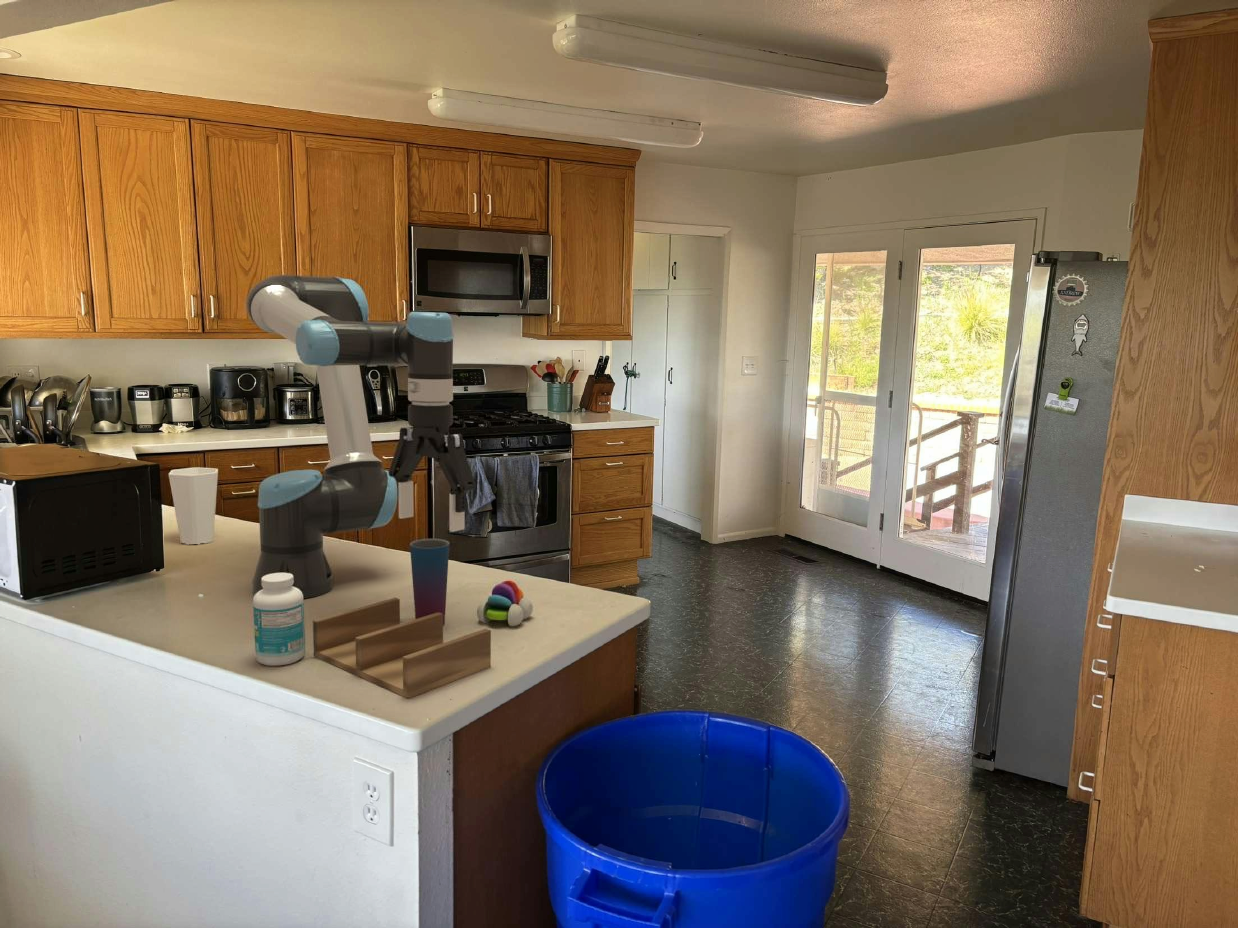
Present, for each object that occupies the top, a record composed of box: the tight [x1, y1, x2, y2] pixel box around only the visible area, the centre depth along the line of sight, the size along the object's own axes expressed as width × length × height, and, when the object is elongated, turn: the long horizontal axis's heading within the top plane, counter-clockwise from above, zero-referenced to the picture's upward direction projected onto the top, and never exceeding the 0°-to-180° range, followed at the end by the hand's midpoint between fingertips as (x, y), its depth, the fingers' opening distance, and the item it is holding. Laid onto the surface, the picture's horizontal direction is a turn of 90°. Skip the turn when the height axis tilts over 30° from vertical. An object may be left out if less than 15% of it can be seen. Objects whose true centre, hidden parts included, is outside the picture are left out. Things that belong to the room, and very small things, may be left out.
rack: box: [312, 597, 492, 699], centre depth 137 cm, size 24×16×6 cm, turn 52°
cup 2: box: [409, 538, 450, 627], centre depth 154 cm, size 7×7×15 cm
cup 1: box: [168, 466, 219, 545], centre depth 206 cm, size 11×10×17 cm
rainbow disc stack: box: [476, 580, 534, 628], centre depth 158 cm, size 8×10×7 cm
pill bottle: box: [252, 573, 306, 667], centre depth 137 cm, size 8×7×14 cm
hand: (430, 523), depth 152 cm, fingers open, 13 cm apart
